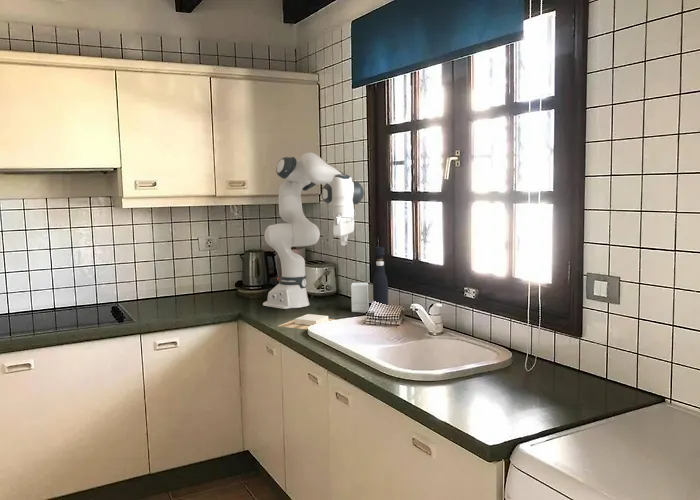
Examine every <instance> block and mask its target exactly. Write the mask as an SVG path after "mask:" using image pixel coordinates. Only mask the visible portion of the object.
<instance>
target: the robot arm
mask: <svg viewBox="0 0 700 500" xmlns="http://www.w3.org/2000/svg"><path fill="white" fill-rule="evenodd" d="M275 172H276V175H277V176H278V177H279V178H281V179H284V180H286V181H284V182H283V183H281V184H280V186H279V191H278V210H279V211H278V213H279V217H280V219H282V221H284V222H285V223H275V224H270V225H268V226H267V227H266V229H265V231H264V240H265V242H266V244H267V245H268V246H270V247H271V248H272V249H273V250H274V251H275V252H276V253H277V255H278V257H279V260H280V267H281V268H280V269H281V275H280V276H279V277H276V279H277V281H278V284H276V285H275V286H274V287H273V288H272V289H270V291H268V294H267V300H266V301H264V302H263V303H262V306H265V307H270V308H276V309H283V310H284V309H285V310H287V309H298V308H304V307H308V306H310V302H309V301H310V300H309V297H308V293H307V275H306V261H305V259H304V257H303V256H302V255H300V254H298V253H296V252H294V251H293V250H292V248H293V247H309V246H313V245H317V243H318V241H319V240H320V236H321V231H320V229H319V227H318V226H317V225H316V224H315V223H313V222H311V221H310V220H309V219H308V218H307V217H306V215H305V213H304V210H303V204H302V191H308V190H309V189H310V190H311V189H313V187H315V186H316V185H323V187H322V189H321V198H322V200H323V202H324V203H325V204H328V205H332V217H333V218H334V219H333V222H332V223H333V225H332V227H333V228H332V230H333V232H332V234H333V237H339V239H340V245H341V246H347V245H348V238H349V235H350V234H352V233H354V230H355V216H356V215H357V214H356V210H355V208H354V205H359V203H361V201H362V200H363V199H364V195H365V190H364V188H363V185H362V184H361V183H360V182H359V181H356V180H355V181H354V180H352V179H353V178H352V176H351V175H349V174H345V173H344V172H343V171H341V170H339V169H337V168H335V167H334V166H331V165H329V164H328V163H326V162H325V160H323V159H322V158H321V157H320V156H319V155H318V154H316V153H314V152H310V151H309V152H305V153H304V154H302V155H301V156H300V158H299V159H297V158H295V157H294V156H291V157H289V156H285V157H282V158H281V159H279V161H278V162H277V164H276V168H275Z"/></svg>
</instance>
